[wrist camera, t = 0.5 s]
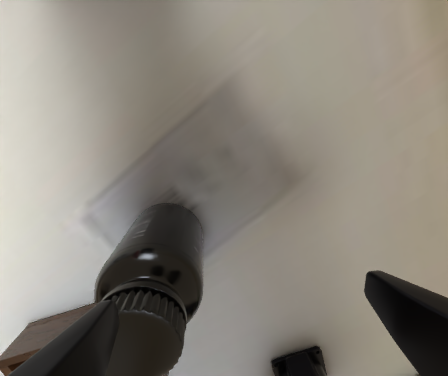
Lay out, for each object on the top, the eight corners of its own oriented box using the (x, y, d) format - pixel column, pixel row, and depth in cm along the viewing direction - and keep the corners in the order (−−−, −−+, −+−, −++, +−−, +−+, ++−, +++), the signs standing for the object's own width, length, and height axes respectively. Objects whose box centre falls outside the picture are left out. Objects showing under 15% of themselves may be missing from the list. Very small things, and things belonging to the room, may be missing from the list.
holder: (170, 365, 27) (163, 406, 23) (79, 393, 27) (57, 439, 23) (131, 291, 23) (117, 324, 19) (29, 323, 23) (-7, 363, 19)
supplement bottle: (139, 264, 22) (70, 407, 11) (130, 203, 21) (35, 296, 9) (205, 260, 23) (205, 391, 11) (201, 199, 21) (198, 283, 10)
